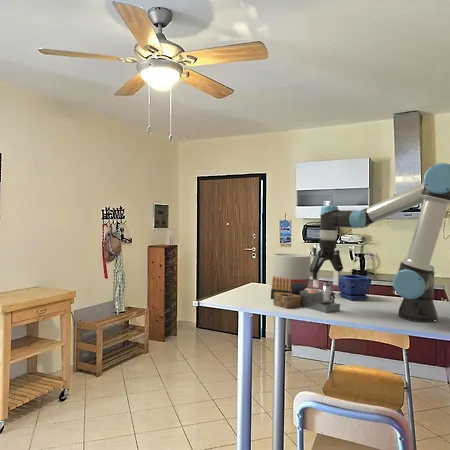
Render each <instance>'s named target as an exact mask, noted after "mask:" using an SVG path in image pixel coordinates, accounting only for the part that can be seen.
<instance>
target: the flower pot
mask: <svg viewBox="0 0 450 450" xmlns="http://www.w3.org/2000/svg"><path fill="white" fill-rule="evenodd" d="M371 284H372V278H371V277H367V276H363V275H359V274H340V275H339V285H338V286H337V288H338V290H339V291H340V292H338V296H340V297H341V298H343V299H346V300H350V301H366V300H367V299H368V298H369V297H370V296H369V295H367V294H368V292H369V290H370V288H371V286H372V285H371Z"/></svg>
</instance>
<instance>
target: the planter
mask: <svg viewBox="0 0 450 450" xmlns="http://www.w3.org/2000/svg"><path fill="white" fill-rule="evenodd" d="M311 264H312V255H309V254H302V253H283V252H282V253H274V254H273V276H274V279H275V281H276V276H277V277H278V284H279V277H281V285H282V279H283V276H284V282H285V281H286V277H287V278H288V285H289V278H291V291H292V294H294V295H298V294H300V291H305V290H307V288H308V286H309V283H310V278H311V271H310V270H309V269H310V266H311ZM281 288H282V286H281Z"/></svg>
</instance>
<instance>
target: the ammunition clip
mask: <svg viewBox="0 0 450 450" xmlns="http://www.w3.org/2000/svg"><path fill="white" fill-rule="evenodd" d="M281 286H282V288H281ZM283 293H290V294H292V291H291V278H289V285H288V278H287V277H286V281H285V282H284V276H283V279H282V285H281V277H279V284H278V277H277V276H276V281H275V279H274V275H273V276H272V279H271V290H270V300H274V294H283Z"/></svg>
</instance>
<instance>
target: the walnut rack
mask: <svg viewBox="0 0 450 450" xmlns="http://www.w3.org/2000/svg"><path fill="white" fill-rule="evenodd" d="M272 305H273V306H275V307H280V308H282V309H283V308H284V309H287V310H288V309H293V308H300V307H301V296H300V295H298V294H290V293H283V294H274V299H273V303H272Z"/></svg>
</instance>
